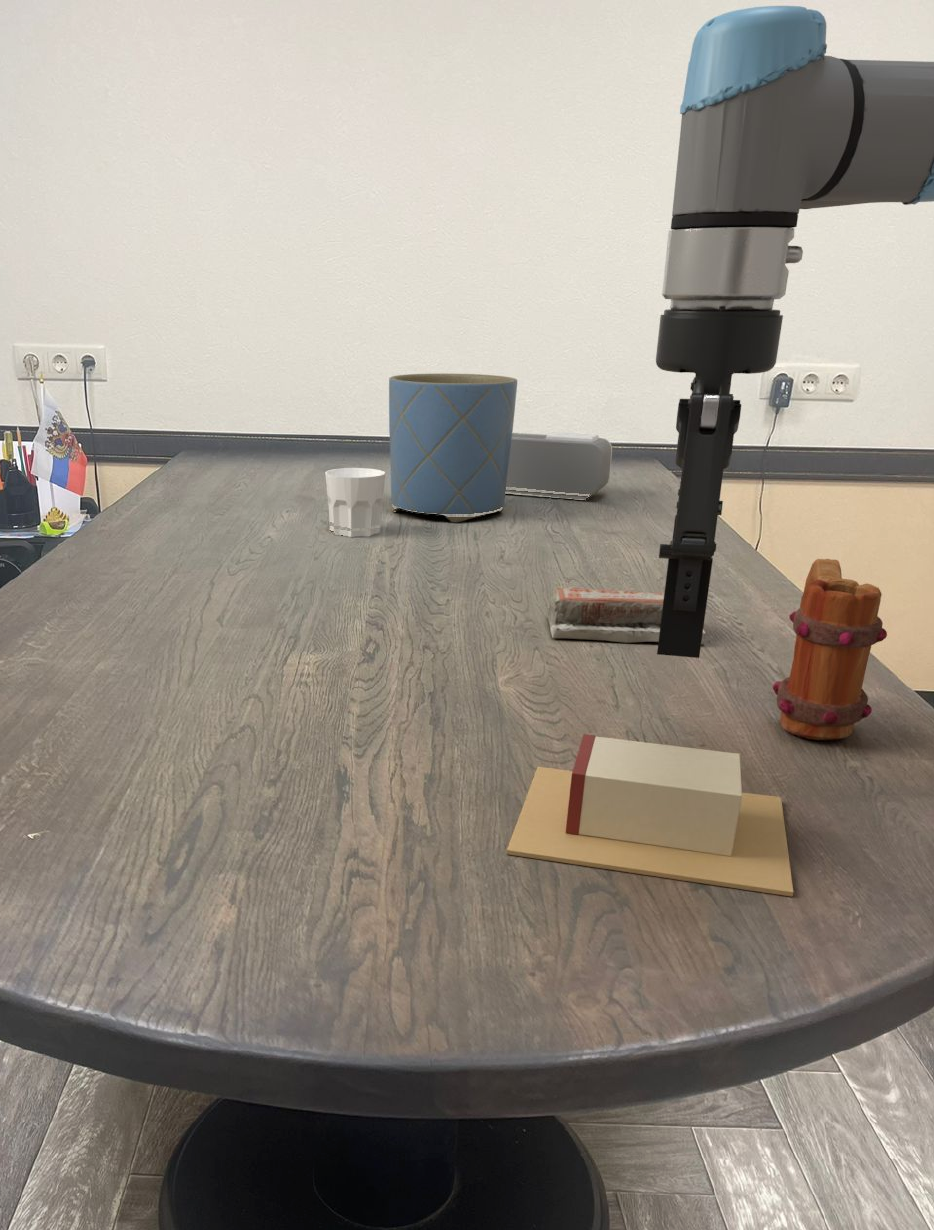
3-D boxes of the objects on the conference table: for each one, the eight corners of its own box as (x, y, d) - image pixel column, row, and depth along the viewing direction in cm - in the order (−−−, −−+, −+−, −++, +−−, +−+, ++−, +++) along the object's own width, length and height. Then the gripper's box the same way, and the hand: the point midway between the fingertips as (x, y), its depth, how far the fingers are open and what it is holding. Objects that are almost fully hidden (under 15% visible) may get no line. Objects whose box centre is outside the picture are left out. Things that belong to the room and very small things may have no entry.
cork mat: (780, 801, 89) (781, 797, 88) (792, 897, 75) (793, 892, 75) (537, 770, 94) (537, 766, 94) (506, 854, 80) (506, 849, 80)
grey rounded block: (607, 495, 218) (614, 434, 213) (597, 502, 210) (604, 439, 205) (478, 485, 228) (482, 426, 223) (464, 492, 220) (467, 431, 215)
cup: (391, 536, 181) (392, 476, 176) (333, 539, 178) (333, 478, 174) (375, 525, 189) (376, 467, 185) (319, 527, 187) (319, 469, 183)
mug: (872, 754, 98) (909, 592, 91) (778, 747, 99) (808, 587, 93) (836, 699, 111) (866, 554, 104) (753, 694, 112) (778, 550, 106)
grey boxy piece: (553, 600, 126) (549, 580, 135) (550, 640, 128) (546, 617, 137) (711, 606, 125) (696, 585, 134) (705, 646, 127) (690, 622, 136)
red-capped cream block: (577, 790, 89) (583, 733, 87) (729, 811, 86) (740, 752, 84) (565, 833, 82) (571, 772, 80) (731, 857, 79) (742, 795, 77)
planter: (361, 512, 200) (362, 378, 190) (434, 496, 215) (439, 371, 206) (461, 529, 186) (469, 386, 176) (531, 511, 202) (542, 378, 192)
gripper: (798, 310, 57) (738, 687, 66) (774, 301, 79) (732, 587, 88) (652, 309, 59) (613, 676, 68) (668, 301, 81) (637, 580, 90)
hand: (680, 626), depth 78 cm, fingers open, 13 cm apart
